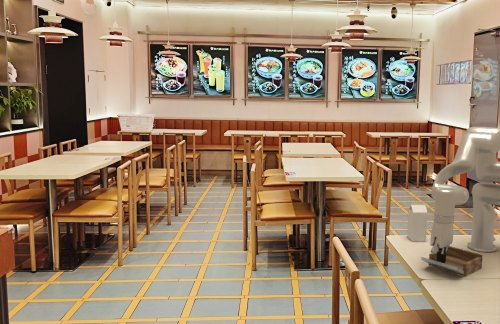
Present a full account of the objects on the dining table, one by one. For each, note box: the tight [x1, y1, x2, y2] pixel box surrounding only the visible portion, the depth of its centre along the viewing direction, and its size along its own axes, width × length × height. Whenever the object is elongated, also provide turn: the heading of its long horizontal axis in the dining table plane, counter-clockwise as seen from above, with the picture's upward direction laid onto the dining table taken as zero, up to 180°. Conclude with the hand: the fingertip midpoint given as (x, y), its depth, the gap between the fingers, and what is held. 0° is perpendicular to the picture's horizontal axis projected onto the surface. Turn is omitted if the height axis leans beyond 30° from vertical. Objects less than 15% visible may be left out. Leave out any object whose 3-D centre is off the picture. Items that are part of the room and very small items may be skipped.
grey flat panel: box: [421, 256, 464, 274], centre depth 192 cm, size 2×15×7 cm
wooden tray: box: [428, 245, 483, 277], centre depth 199 cm, size 14×16×6 cm
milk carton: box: [406, 202, 428, 242], centre depth 235 cm, size 7×7×19 cm
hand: (440, 262), depth 191 cm, fingers closed
